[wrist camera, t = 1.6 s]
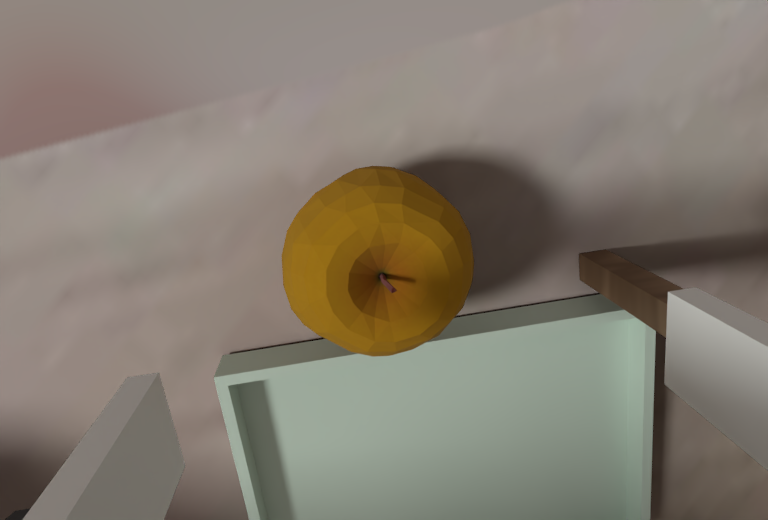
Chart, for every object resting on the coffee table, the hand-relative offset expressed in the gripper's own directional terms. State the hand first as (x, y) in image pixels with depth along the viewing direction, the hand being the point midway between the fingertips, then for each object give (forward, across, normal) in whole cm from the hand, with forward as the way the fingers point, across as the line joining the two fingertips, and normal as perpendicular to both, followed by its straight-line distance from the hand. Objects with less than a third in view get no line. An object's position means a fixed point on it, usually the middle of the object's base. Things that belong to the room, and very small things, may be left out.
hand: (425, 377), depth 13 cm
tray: (+16, +3, -14) cm, 21 cm away
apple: (+16, 0, 0) cm, 16 cm away
